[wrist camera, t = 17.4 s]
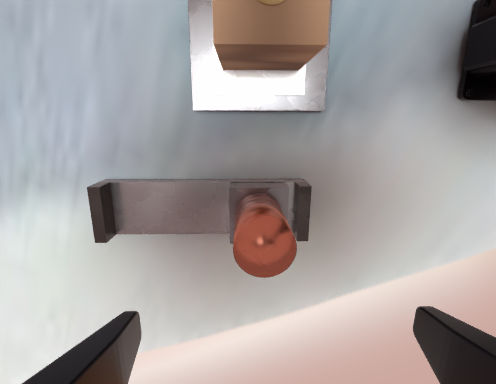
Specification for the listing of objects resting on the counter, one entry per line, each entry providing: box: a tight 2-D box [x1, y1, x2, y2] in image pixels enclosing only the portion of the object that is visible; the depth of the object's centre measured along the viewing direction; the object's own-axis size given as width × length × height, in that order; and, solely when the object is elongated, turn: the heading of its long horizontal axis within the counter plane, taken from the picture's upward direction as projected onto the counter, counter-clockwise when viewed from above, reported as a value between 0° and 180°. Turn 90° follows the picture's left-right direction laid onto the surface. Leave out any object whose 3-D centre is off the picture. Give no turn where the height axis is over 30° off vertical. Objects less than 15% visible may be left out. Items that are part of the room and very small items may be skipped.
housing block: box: [212, 0, 330, 70], centre depth 14 cm, size 5×5×6 cm
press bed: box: [188, 0, 332, 111], centre depth 18 cm, size 9×10×1 cm
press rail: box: [87, 179, 311, 243], centre depth 20 cm, size 15×4×2 cm, turn 90°
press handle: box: [229, 183, 297, 277], centre depth 17 cm, size 4×4×6 cm
